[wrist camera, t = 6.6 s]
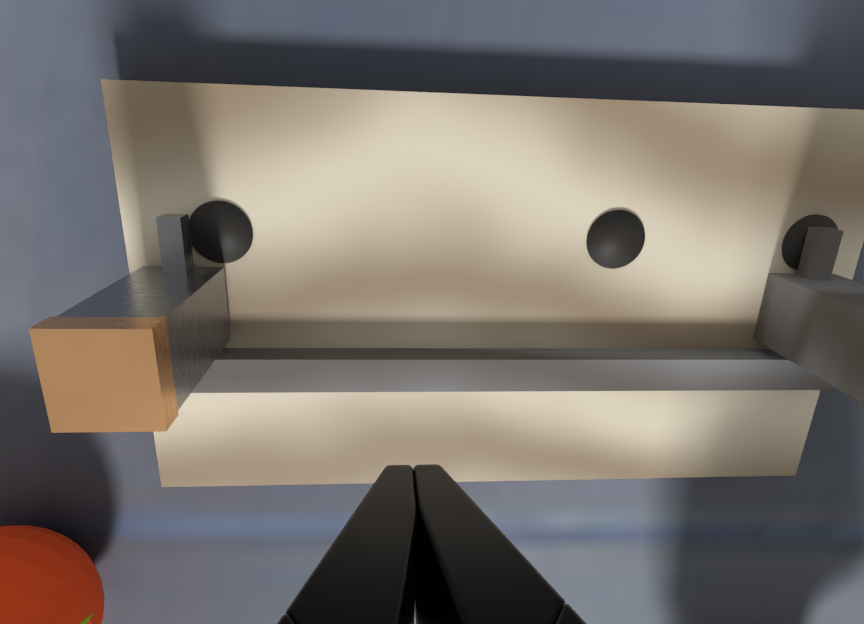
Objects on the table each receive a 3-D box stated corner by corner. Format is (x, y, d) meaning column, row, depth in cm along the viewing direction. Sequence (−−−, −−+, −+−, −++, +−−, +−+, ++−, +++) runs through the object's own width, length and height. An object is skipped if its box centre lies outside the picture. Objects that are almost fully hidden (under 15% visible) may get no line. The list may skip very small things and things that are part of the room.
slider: (232, 340, 19) (166, 431, 13) (152, 340, 18) (51, 432, 13) (220, 214, 17) (141, 256, 12) (134, 212, 17) (12, 254, 11)
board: (775, 458, 24) (927, 589, 17) (173, 467, 22) (78, 620, 15) (870, 111, 19) (1127, 105, 12) (119, 81, 17) (-51, 55, 10)
